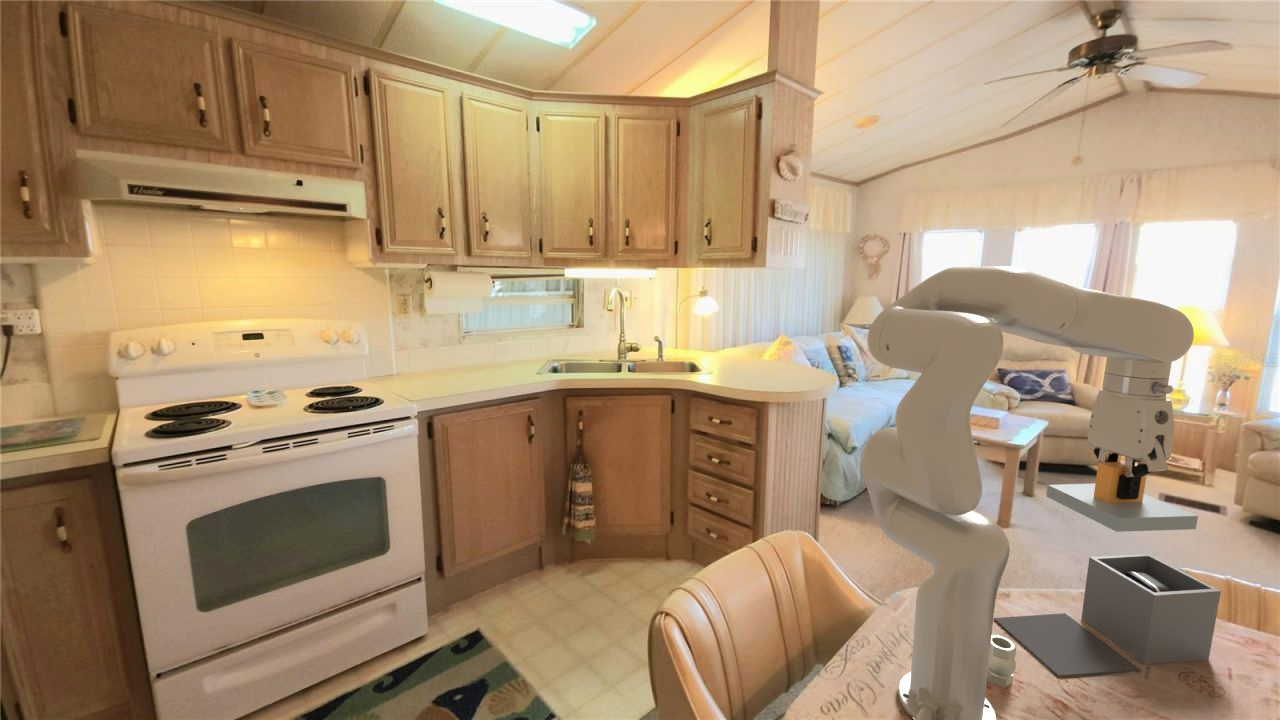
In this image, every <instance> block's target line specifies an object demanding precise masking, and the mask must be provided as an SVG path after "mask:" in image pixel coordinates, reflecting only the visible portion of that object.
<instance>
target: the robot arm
mask: <svg viewBox="0 0 1280 720" xmlns="http://www.w3.org/2000/svg"><path fill="white" fill-rule="evenodd" d="M1003 333H1005V334H1009V335H1013V336H1017V337H1021V338H1025V339H1028V340H1031V341H1034V342H1039V343H1041V344H1046V345H1052V346H1059V347H1065V348H1070V350H1072V351H1074V352H1077V353H1079V354H1082V355H1086V356H1087V355H1088V356H1093V357H1103V358H1106V359H1105V365H1104V374H1103V380H1102V385H1101V386H1102V387H1101V389H1099V390H1098V393H1097V395H1096V397H1095V401H1094V404H1093V407H1092V410H1091V415H1090V420H1089V423H1088V431H1087V432H1088V433H1087V436H1088V437H1087V439H1086V441H1085V442H1084V443H1085V445H1086V446H1087V447H1088V448H1089V449H1090V450H1091V451H1092V452H1093V454H1094V455H1095V457H1096V458H1097V464H1098V463H1099V462H1121V459H1122V457H1124V462H1125V464H1124V475H1120V477H1119V484H1118V490H1117V498H1119V499H1121V500H1125V499H1137V498H1138V496H1139V490H1140V483H1141V477H1146V478H1147V475H1149V474H1151V473H1153V472H1164V471H1167V470H1168V469H1169V467H1168V462H1167V461H1168V460H1170V458H1171V456H1172V452H1173V442H1174V428H1175V427H1174V425H1175V423H1174V422H1175V421H1174V408H1173V401H1172V399H1170V398H1167V395H1170V394H1171V393H1173V390H1174V388H1173V386H1172V385H1169V383H1170V382H1169V381H1170V374H1171V370H1172V369H1171V368H1172V363H1173V362H1176V361H1177V360H1179V359H1181V358H1182V357H1183V356H1184V355H1186V354H1187V353H1188V351H1189V350H1190V349H1191V347H1192V345H1193V342H1194V337H1195V332H1194V327H1193V324H1192V322H1191V320H1190V318H1188V317H1187V315H1185V313H1183V312H1182V311H1181V310H1178V309H1176V308H1173V307H1171V306H1168V305H1166V304H1162V303H1159V302H1154V301H1153V300H1152V301H1151V300H1147V299H1143V298H1142V299H1141V298H1135V297H1130V296H1126V295H1119V294H1114V293H1108V292H1104V291H1100V290H1095V289H1089V288H1082V287H1077V286H1073V285H1070V284H1067V283H1064V282H1061V281H1058V280H1055V279H1053V278H1050V277H1047V276H1045V275H1041V274H1039V273H1036V272H1034V271H1031V270H1028V269H1024V268H1021V267H1016V266H1008V265H1007V266H1006V265H1003V266H1002V265H999V266H997V265H992V266H991V265H990V266H982V265H981V266H955V267H954V266H953V267H949V268H945V269H944V270H941V271H939V272H936V273H935V274H933V275H931V276H930V277H928V278H926V279H924V280H923V281H922V282H920V283H919V284H917V285H916V286H915V287H913V288H912V289H910V290H909V291H908V292H907V293H905V294H903V295H902V296H901V297H899V298H897V300H895V301H894V302H892V303H891V304H889V305H888V306H887V307H886V308H885V309H883V310H882V311H881V312H879V314H878V315H877V316H876V317H875V318H874V319H873V321H872V323H871V325H870V327H869V329H868V333H867V339H866V340H867V347H868V350H869V353H870V355H871V356H872V358H874V360H876V361H877V362H878V363H879V364H881V365H884V366H886V367H889V368H892V369H898V370H904V371H907V372H912V373H913V372H914V373H918V374H920V375H919V377H918V379H917V380H916V381H915V382H914V384H912V386H911V387H910V388H909V390H908V391H907V392H906V394H905V395H904V396H903V397H902V398H901V400H900V401H899V403H898V404H897V407H896V410H895V418H894V421H895V426H890V427H889V426H888V427H885V428H884V427H883V428H881V429H879V430H877V431H876V432H874V433H873V434H872V435H871V436H870V437H869V438H868V440H867V442H866V443H865V446H864V449H863V452H862V458H861V469H862V476H863V479H864V482H865V485H866V489H867V491H868V496H869V499H870V502H871V506H872V510H873V512H874V516H875V518H876V519H875V520H876V522H877V523H878V527H879V528H880V530H881V531H882V533H883V534H884V535H885V536H886V538H888V539H889V540H890V541H892V542H894V543H895V544H896V545H898V546H899V547H901V548H903V549H905V550H907V551H908V552H910V553H911V554H913V555H914V556H916V557H918V558H920V559H921V560H923V561H925V562H926V563H927V564H929V565H930V566H931V567H932V568H933V572H932V574H931V575H929V576H928V577H926V578H925V579H923V581H921V582H920V584H919V586H918V587H917V591H916V598H915V599H916V600H915V611H914V612H915V615H914V626H913V627H914V629H913V638H912V639H913V642H912V654H911V655H912V657H911V667H910V668H911V670H910V671H909V672H908V673H906V674H903V676H902V677H901V678H900V680H899V682H898V691H897V692H898V699H899V702H900V704H901V705H902V708H903V709H904V711H905V712H906V713H907V715H908V716H909V715H911V716H912V717H914V718H915V720H997V716H996V712H995V709H994V708H993V706H992V704H991V703H990V702H989V701H988V698H986V694H987V693H986V692H987V685H988V684H987V683H988V679H987V676H988V666H989V656H990V646H991V636H992V635H993V634H992V633H993V624H994V623H993V622H994V617H995V616H994V614H995V606H996V599H997V596H998V595H997V594H998V590H999V586H1000V583H1001V580H1002V577H1003V574H1004V573H1005V569H1006V566H1007V564H1008V561H1009V558H1010V552H1011V546H1010V541H1009V539H1008V536H1007V534H1006V533H1005V531H1004V530H1003V528H1002V527H1000V526H999V524H997V523H996V522H994V521H993V520H992V519H990V518H989V517H987V516H985V515H984V514H982V513H980V512H978V511H976V510H975V509H977V507H978V506H979V504H980V501H981V500H982V494H983V493H982V492H983V482H982V477H981V471H980V467H979V460H978V457H977V452H976V448H975V444H974V443H975V442H974V439H973V438H974V437H973V434H972V433H973V432H972V427H971V419H970V418H971V410H972V408H973V405H974V403H975V401H976V400H977V397H978V395H979V394H980V392H981V390H982V389H983V387H984V386H985V384H986V383H987V381H988V379H989V378H990V377H991V375H992V374H993V372H994V371H995V370H996V368H997V366H998V365H999V362H1000V360H1001V357H1002V355H1003V349H1004V335H1003ZM1149 459H1150V462H1149ZM1135 463H1137V466H1135ZM911 716H910V717H911ZM912 717H911V718H912Z"/></svg>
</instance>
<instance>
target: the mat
mask: <svg viewBox="0 0 1280 720" xmlns="http://www.w3.org/2000/svg"><path fill="white" fill-rule="evenodd" d="M994 621H995V623H997V625H998V626H1000V627H1001V628H1002V629H1004V630H1005V632H1006V633H1008V634H1009V636H1011V637H1012V638H1013V639H1015V640H1016V641H1017V643H1019V644H1020V645H1021V646H1022V647H1023V648H1025V649H1026V650H1027V651H1028V652H1029V653H1030V654H1031V655H1032V654H1033V657H1034V658H1036V659H1037V660H1038V661H1039V660H1040V661H1041V662H1042V663H1041V662H1040V661H1039V662H1040V663H1041V664H1042V665H1044V666H1045V667H1046V668H1047V669H1048V670H1049V671H1050V672H1051V673H1052V674H1053V675H1055V676H1056V677H1058V678H1069V677H1083V676H1084V677H1085V676H1096V675H1097V676H1099V675H1110V674H1125V673H1127V674H1128V673H1136V672H1137V673H1139V672H1141V670H1142V669H1141V668H1140V667H1138V666H1137V665H1136V664H1135V663H1133V662H1132V661H1130V660H1129V659H1128V658H1126V657H1125V656H1123V655H1122V654H1120V653H1119V652H1118V650H1115V649H1114V648H1113V647H1112V646H1110V645H1109V644H1107V642H1105V641H1103V639H1101V638H1100V637H1098V636H1097V635H1095V634H1094V633H1092V632H1091V631H1090V630H1089V629H1087V628H1086V627H1084V626H1083V625H1082V624H1080V623H1079V622H1078V621H1076V620H1075V619H1073V618H1072V617H1071V616H1069V615H1068V614H1067V613H1050V614H1049V613H1048V614H1037V615H1036V614H1035V615H1020V616H1008V617H1007V616H1003V617H993V622H994Z"/></svg>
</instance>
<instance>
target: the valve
mask: <svg viewBox="0 0 1280 720" xmlns="http://www.w3.org/2000/svg"><path fill="white" fill-rule="evenodd" d="M1016 650H1017V647H1016V646H1015V644H1014V643H1013V642H1012V641H1011V640H1010V639H1009V638H1007V637H1005V636H1001V635H999V634H992V636H991V646H990V656H989V666H988V676H987V682H989V683H990V684H992V685H994V686H998V687H1000V688H1002V689H1003V688H1004V689H1007V688H1008V687H1009V686H1011V685H1012V684H1013V680H1014V673H1015V671H1016V664H1017V663H1016V660H1015V657H1016V653H1017V651H1016Z"/></svg>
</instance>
